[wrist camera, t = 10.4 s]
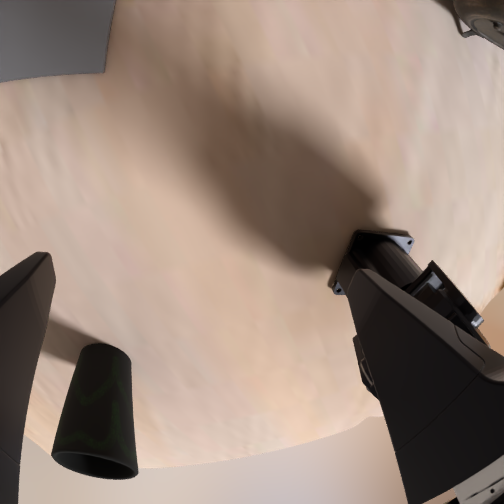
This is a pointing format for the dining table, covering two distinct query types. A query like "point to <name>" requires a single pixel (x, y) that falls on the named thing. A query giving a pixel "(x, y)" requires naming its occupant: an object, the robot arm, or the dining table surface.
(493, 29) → the alarm clock
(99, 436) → the cup
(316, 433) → the dining table surface
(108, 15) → the mat
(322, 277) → the dining table surface
